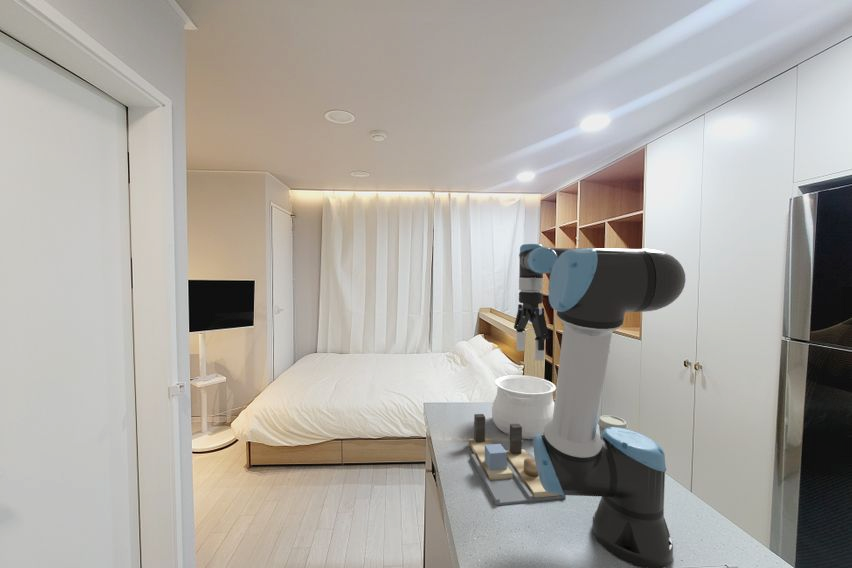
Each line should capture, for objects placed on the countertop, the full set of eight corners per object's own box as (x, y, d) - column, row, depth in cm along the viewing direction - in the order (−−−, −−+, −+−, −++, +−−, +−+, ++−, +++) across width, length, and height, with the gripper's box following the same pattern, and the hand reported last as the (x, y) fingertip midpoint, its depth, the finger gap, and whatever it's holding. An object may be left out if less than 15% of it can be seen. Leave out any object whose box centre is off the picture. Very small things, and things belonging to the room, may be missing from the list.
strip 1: (512, 477, 97) (513, 443, 96) (489, 479, 96) (489, 445, 95) (488, 441, 117) (488, 413, 117) (468, 443, 116) (468, 414, 116)
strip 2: (559, 495, 89) (559, 458, 89) (534, 497, 88) (534, 460, 88) (524, 453, 110) (524, 423, 110) (503, 455, 109) (503, 424, 109)
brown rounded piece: (542, 476, 95) (543, 465, 95) (528, 477, 94) (528, 467, 94) (535, 467, 100) (535, 457, 99) (521, 468, 99) (521, 458, 99)
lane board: (565, 498, 89) (565, 492, 89) (495, 505, 86) (496, 499, 86) (527, 454, 111) (527, 449, 111) (471, 458, 108) (471, 454, 108)
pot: (500, 409, 147) (500, 371, 147) (560, 420, 137) (561, 379, 136) (483, 434, 124) (484, 388, 124) (554, 450, 114) (555, 400, 113)
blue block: (506, 469, 98) (506, 452, 98) (490, 470, 98) (490, 453, 98) (500, 460, 103) (500, 443, 103) (484, 461, 103) (484, 444, 103)
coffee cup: (631, 465, 105) (632, 427, 104) (601, 462, 106) (602, 424, 106) (621, 451, 113) (622, 415, 113) (593, 448, 115) (594, 413, 115)
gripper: (561, 293, 101) (560, 364, 101) (524, 289, 125) (523, 346, 126) (538, 293, 99) (536, 365, 100) (505, 289, 124) (504, 347, 125)
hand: (529, 355), depth 113 cm, fingers open, 13 cm apart
